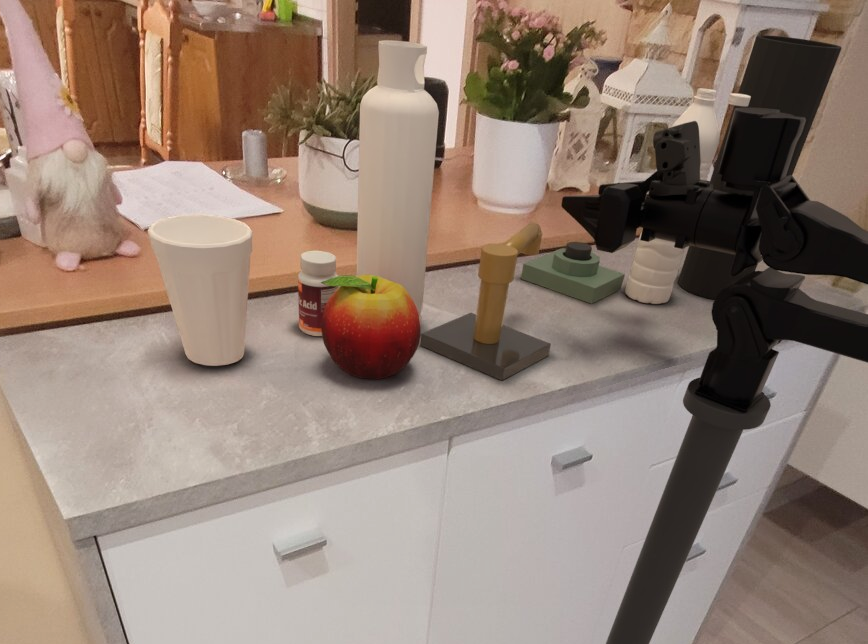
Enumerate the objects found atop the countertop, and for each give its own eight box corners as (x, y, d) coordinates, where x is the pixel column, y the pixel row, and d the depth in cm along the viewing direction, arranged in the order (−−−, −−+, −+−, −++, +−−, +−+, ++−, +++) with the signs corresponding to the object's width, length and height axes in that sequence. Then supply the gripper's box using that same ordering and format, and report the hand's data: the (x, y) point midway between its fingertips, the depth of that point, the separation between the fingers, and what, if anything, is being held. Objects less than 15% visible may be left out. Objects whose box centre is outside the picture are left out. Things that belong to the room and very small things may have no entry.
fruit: (426, 389, 78) (435, 295, 71) (326, 391, 76) (326, 294, 69) (407, 346, 85) (414, 258, 78) (316, 347, 83) (314, 256, 76)
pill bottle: (291, 326, 87) (288, 253, 81) (321, 318, 89) (321, 246, 84) (315, 340, 84) (314, 266, 79) (346, 331, 87) (347, 258, 81)
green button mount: (621, 289, 106) (628, 260, 103) (591, 304, 100) (598, 274, 98) (552, 266, 111) (558, 238, 108) (520, 279, 106) (525, 250, 103)
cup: (280, 354, 81) (273, 229, 72) (219, 386, 74) (203, 253, 66) (212, 330, 84) (198, 207, 75) (148, 358, 78) (124, 228, 69)
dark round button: (593, 259, 104) (596, 246, 102) (581, 264, 101) (584, 251, 100) (572, 252, 105) (574, 239, 104) (559, 257, 103) (562, 244, 102)
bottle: (407, 346, 85) (429, 53, 66) (345, 332, 87) (348, 41, 68) (429, 322, 91) (454, 46, 72) (369, 309, 93) (379, 35, 73)
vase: (671, 273, 113) (746, 32, 93) (734, 279, 113) (823, 41, 93) (686, 297, 106) (771, 41, 85) (754, 304, 106) (855, 50, 85)
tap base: (548, 355, 87) (563, 284, 81) (501, 380, 81) (514, 305, 75) (469, 324, 92) (478, 254, 86) (420, 345, 86) (426, 272, 80)
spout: (505, 290, 79) (511, 258, 77) (472, 282, 80) (476, 250, 78) (547, 253, 90) (552, 223, 87) (517, 246, 91) (522, 216, 88)
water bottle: (616, 294, 104) (671, 85, 87) (637, 284, 108) (694, 82, 91) (670, 313, 100) (739, 98, 83) (690, 302, 104) (760, 95, 87)
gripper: (759, 123, 80) (630, 108, 87) (694, 142, 68) (552, 122, 75) (728, 233, 87) (611, 210, 94) (664, 266, 76) (537, 237, 83)
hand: (581, 195), depth 86 cm, fingers open, 9 cm apart
